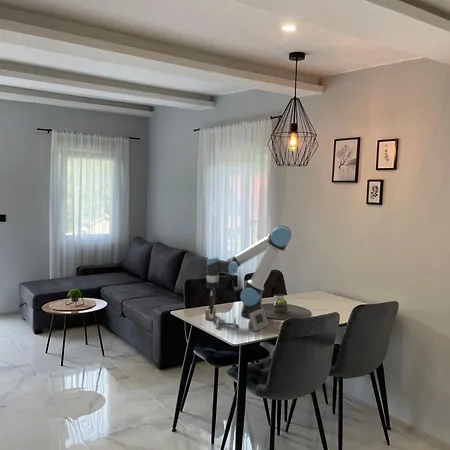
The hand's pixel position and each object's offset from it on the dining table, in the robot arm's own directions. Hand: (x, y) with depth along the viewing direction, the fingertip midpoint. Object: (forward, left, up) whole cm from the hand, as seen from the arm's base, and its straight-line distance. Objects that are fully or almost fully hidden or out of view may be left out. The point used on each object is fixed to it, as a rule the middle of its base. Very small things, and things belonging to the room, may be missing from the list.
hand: (211, 316), depth 295 cm
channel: (-10, +17, -1) cm, 20 cm away
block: (+1, 0, 0) cm, 1 cm away
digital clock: (-30, +19, -1) cm, 35 cm away
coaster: (0, 0, -1) cm, 1 cm away
